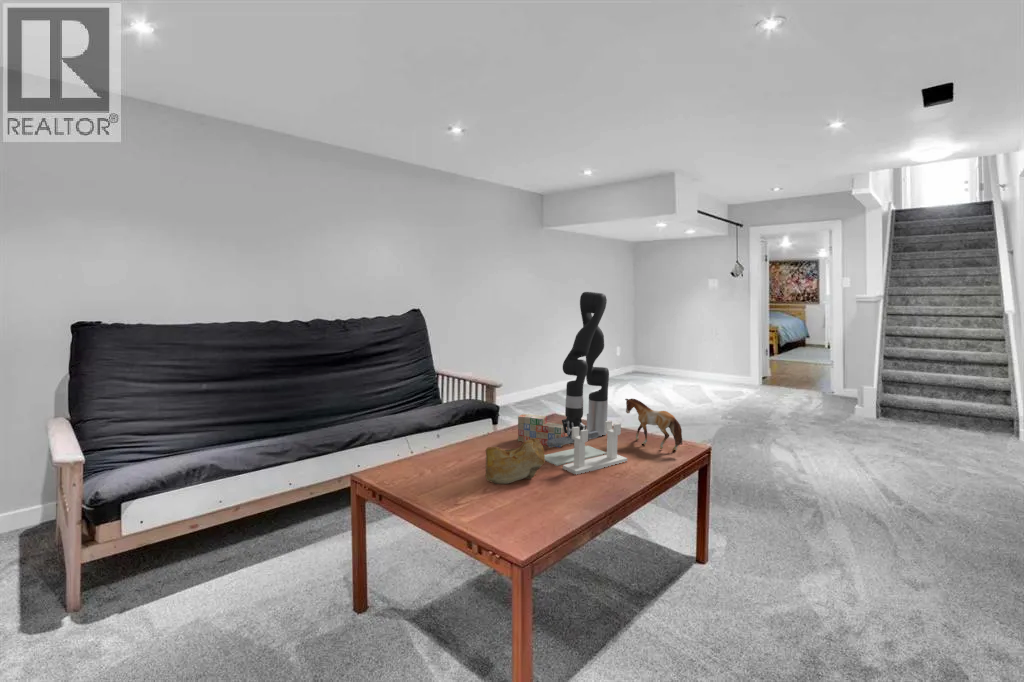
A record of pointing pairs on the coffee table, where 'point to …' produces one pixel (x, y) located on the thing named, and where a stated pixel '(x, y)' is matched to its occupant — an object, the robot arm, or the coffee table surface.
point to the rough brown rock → (514, 462)
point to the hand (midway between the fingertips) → (573, 444)
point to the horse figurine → (655, 421)
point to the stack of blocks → (538, 429)
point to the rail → (569, 439)
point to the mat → (571, 455)
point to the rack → (597, 462)
